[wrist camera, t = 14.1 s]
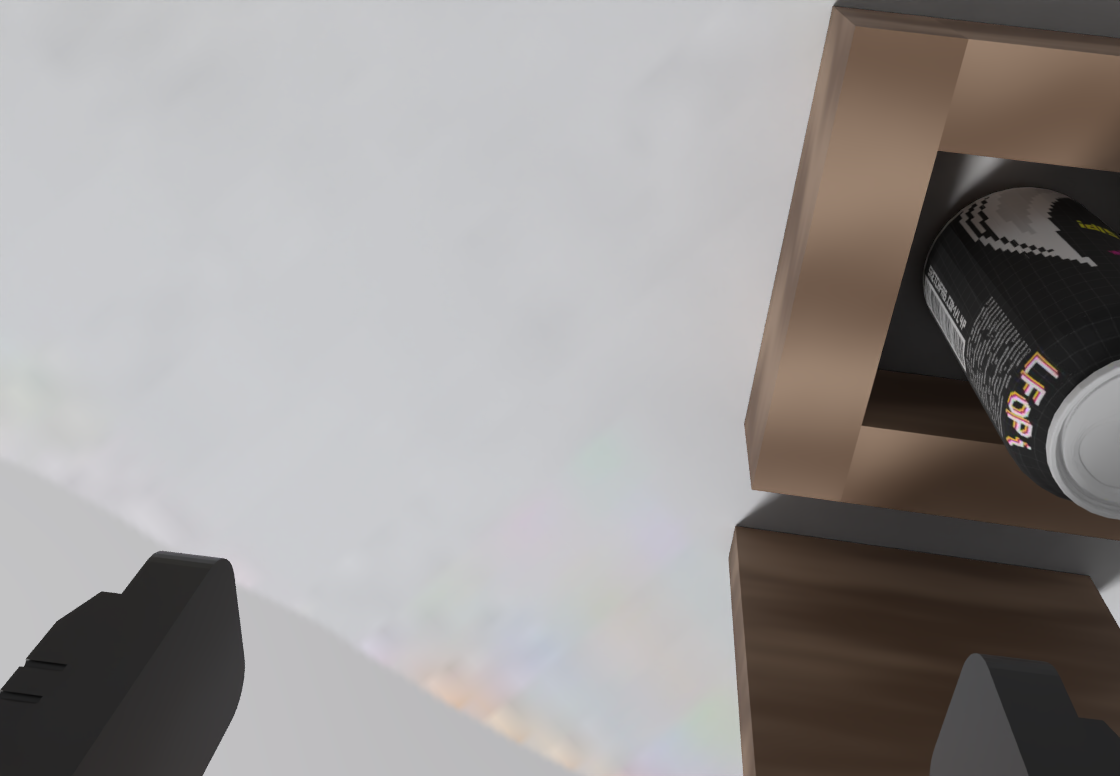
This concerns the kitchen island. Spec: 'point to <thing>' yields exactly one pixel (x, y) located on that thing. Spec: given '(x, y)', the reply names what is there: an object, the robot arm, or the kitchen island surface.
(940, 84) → the socket block
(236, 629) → the robot arm
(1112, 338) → the beverage can
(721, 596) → the kitchen island surface
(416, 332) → the kitchen island surface
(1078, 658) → the grey-capped wooden panel
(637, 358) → the kitchen island surface
